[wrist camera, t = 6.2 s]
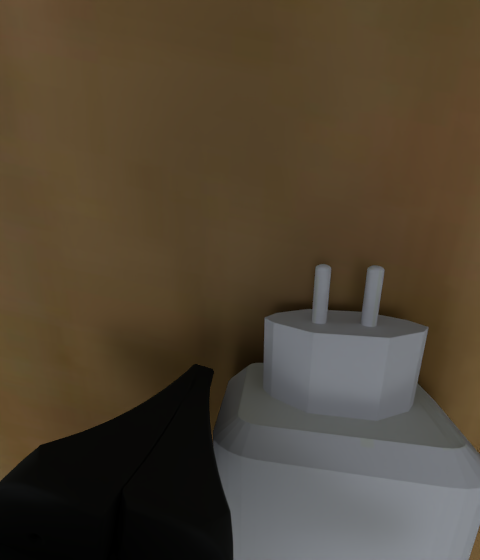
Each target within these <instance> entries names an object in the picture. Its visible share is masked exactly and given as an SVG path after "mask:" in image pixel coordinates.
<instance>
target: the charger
mask: <svg viewBox="0 0 480 560" xmlns="http://www.w3.org/2000/svg"><path fill="white" fill-rule="evenodd" d="M384 270H385V269H384V268H383V267H381V266H377V265H373V266H370V267H369V268H368V269H367V276H366V284H365V292H364V300H363V308H362V312H355V311H336V310H328V299H329V288H330V277H331V267H330V266H329V265H326V264H320V265H318V266H316V269H315V282H314V296H313V309H304V310H296V311H288V312H280V313H275V314H272V315H270V316H267V317H265V328H264V363H253V364H250V365H249V366H247V367H246V368H244V369H243V370H242V371H240V372H239V373H238V374H236V375H235V376H234V377H232V378H231V379H230V380H229V382H228V385H227V389H226V392H225V395H224V398H223V401H222V405H221V408H220V411H219V414H218V417H217V421H216V424H215V427H214V430H213V447H214V453H215V458H216V463H217V467H218V472H219V475H220V479H221V483H222V486H223V490H224V493H225V496H226V499H227V502H228V505H229V508H230V511H231V522H232V533H233V560H468V559H469V556H470V553H471V550H472V547H473V544H474V541H475V538H476V535H477V532H478V529H479V526H480V454H479V453H478V452H477V450H476V449H475V448H474V447H473V446H472V445H471V443H470V442H469V441H468V440H467V439H466V437H465V436H464V435H463V434H462V433H461V431H460V430H459V429H458V428H457V427H456V425H455V424H454V423H453V422H452V421H451V419H450V418H449V417H448V416H447V415H446V414H445V412H444V411H443V410H442V409H441V408H440V406H439V405H438V404H437V403H436V402H435V401H434V400H433V399H432V398H431V397H430V395H429V394H428V393H427V392H426V391H425V390H424V389H423V388H422V387H421V386H420V385H419V384H418V383H417V382H418V377H419V372H420V367H421V362H422V357H423V352H424V347H425V342H426V337H427V332H428V327H427V326H424V325H421V324H417V323H414V322H411V321H408V320H403V319H398V318H393V317H388V316H383V315H378V312H379V305H380V298H381V291H382V284H383V277H384Z"/></svg>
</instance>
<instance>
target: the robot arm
mask: <svg viewBox="0 0 480 560" xmlns="http://www.w3.org/2000/svg"><path fill="white" fill-rule="evenodd" d="M213 374H214V371H213V369H211V368H208V367H205V366H201V365H198V364H194V365H193V366H192V367H191V368H189V369H188V370H187V371H186V372H185V373H184V374H183V375H181V376H180V377H179V378H178V379H177V380H175V381H174V382H173V383H171V384H170V385H169V386H167V387H166V388H165V389H163V390H162V391H160V392H159V393H158V394H156V395H155V396H153V397H152V398H150V399H149V400H147V401H145V402H144V403H142V404H140V405H139V406H137V407H135V408H133V409H132V410H130V411H128V412H126V413H124V414H122V415H120V416H118V417H116V418H114V419H112V420H110V421H107V422H105V423H103V424H100V425H98V426H95V427H93V428H90V429H88V430H85V431H83V432H80V433H77V434H74V435H71V436H68V437H65V438H62V439H59V440H55V441H52V442H49V443H46V444H42V445H40V446H39V447H38V448H37V449H35V450H34V451H33V452H32V453H30V454H29V455H28V456H27V457H26V458H25V459H23V460H22V461H21V462H20V463H19V464H18V465H17V466H16V467H15V468H14V469H13V470H12V471H11V472H10V473H9V474H8V475H6V476H5V477H4V478H3V479H2V480H1V481H0V560H233V533H232V522H231V511H230V508H229V505H228V502H227V499H226V496H225V493H224V490H223V486H222V483H221V479H220V475H219V472H218V467H217V463H216V458H215V453H214V448H213V442H212V435H211V427H210V412H209V397H210V386H211V382H212V378H213Z"/></svg>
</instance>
